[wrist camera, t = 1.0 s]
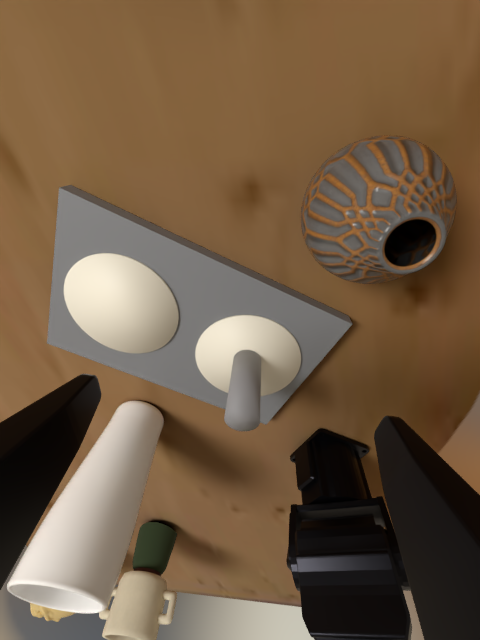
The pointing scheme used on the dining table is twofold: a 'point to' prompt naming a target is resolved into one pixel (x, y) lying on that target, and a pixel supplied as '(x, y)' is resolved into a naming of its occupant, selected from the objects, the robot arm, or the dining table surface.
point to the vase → (378, 209)
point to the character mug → (143, 589)
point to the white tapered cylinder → (92, 518)
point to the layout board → (181, 313)
